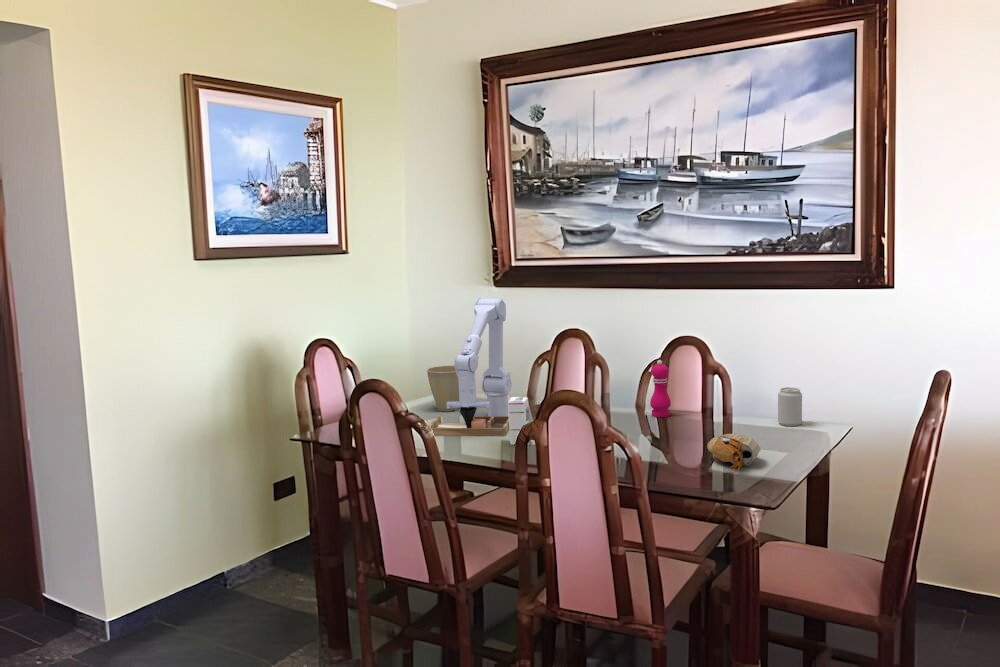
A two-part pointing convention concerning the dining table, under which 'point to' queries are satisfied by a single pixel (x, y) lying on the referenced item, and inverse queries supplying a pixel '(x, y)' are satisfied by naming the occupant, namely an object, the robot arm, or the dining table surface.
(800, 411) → the can
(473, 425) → the coral block
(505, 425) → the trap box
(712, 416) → the dining table surface
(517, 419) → the syrup box
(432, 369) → the plant pot
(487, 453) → the dining table surface
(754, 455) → the nautilus
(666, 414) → the pepper mill
